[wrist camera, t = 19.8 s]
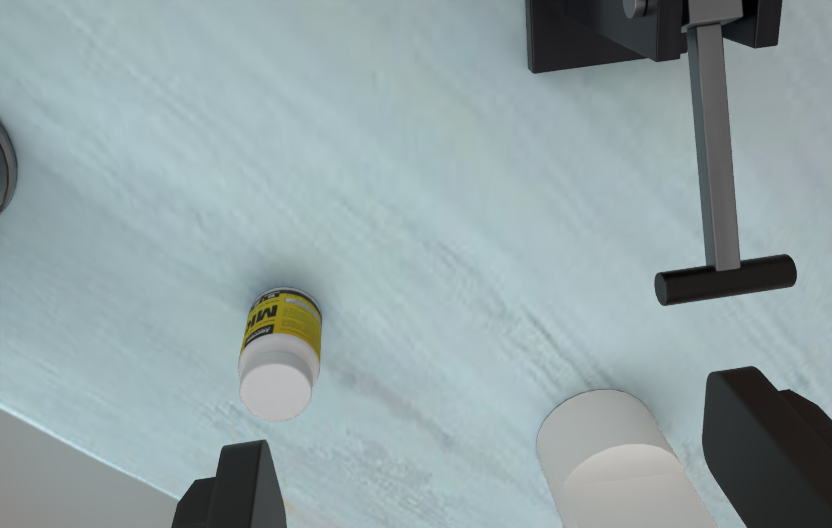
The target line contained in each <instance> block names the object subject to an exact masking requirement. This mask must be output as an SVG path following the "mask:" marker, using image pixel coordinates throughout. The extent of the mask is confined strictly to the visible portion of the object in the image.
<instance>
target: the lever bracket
mask: <svg viewBox="0 0 832 528" xmlns="http://www.w3.org/2000/svg"><path fill="white" fill-rule="evenodd" d="M525 4H526V27H527V50H528V69H529V70H530V71H531V72H532V73H534V74H535V73H543V72H550V71H557V70H565V69H572V68H579V67H587V66H594V65H601V64H609V63H616V62H623V61H631V60H638V59H645V58H649V59H651V60H653V61H655V62H661V61H668V60H675V59H680V54H682V53H687V51H688V45H687V33H686V32H684V33H681V28H682V7H683V0H525ZM742 4H743V17H741V18H739V19H737V20H734V21H732V22H729V23H727V24H724V25H722V36H723V38H726V39H729V40H731V41H734V42H737V43H740V44H743V45H746V46H749V47H752V48H762V47H770V46H776V45H777V44H778V37H779V27H780V18H781V8H782V0H742Z"/></svg>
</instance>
